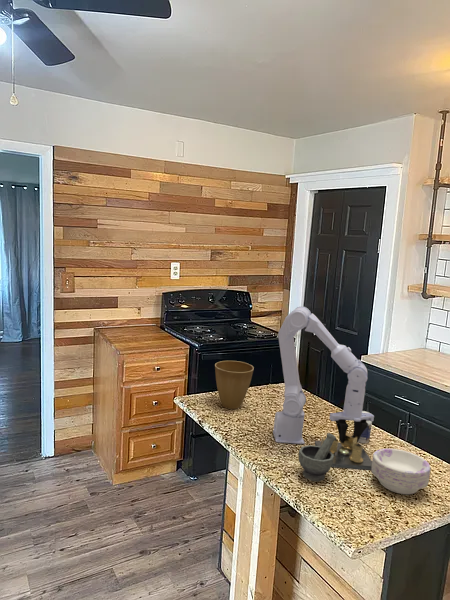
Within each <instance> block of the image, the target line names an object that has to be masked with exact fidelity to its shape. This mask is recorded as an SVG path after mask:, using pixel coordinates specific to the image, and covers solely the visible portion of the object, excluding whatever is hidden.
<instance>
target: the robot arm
mask: <svg viewBox="0 0 450 600" xmlns="http://www.w3.org/2000/svg"><path fill="white" fill-rule="evenodd" d="M304 328H305V329H304ZM303 329H304V331H305V332H308V333H312V334H314V335H315V336H317V338H318V339H319V340H320V341H322V343H323V344H324V345H325V346H326V348H328V349H329V351H330V353H331V354H330V357H331V358H332V360H333V361H334V362H335V363H336V364H337V365H338V366H339V368H340V369H341V370H342V371H343V373H345V374H347V379H348V381H347V385H346V389H345V397H344V404H343V409H342V411H338V412H331V413H329V420H330V421H331V422H335V424H336V427H337V431H338V439H339V441H340V442H341V443H344V442H345V436H346V432H348V428H349V424H348V422H347V421H353V433H352V435H355V436H357V444H359V442H358V441H359V438H360V436H361V434H362V433H363V431H364V430H365V429H366V428H367V427H368V423H367V422H366V421H372V422H374V420H375V419H374V418H375V415H374V414H372V413H370V412H369V413H362V411H363V408H364V401H365V394H366V385H367V381H368V379H369V378H368V369H367V367H366V365H365V363H363V362H362V360H361V359H358V358H357V357H356V356H355V355H354V354H353V353H352V349H351V348H350V347H349V346H348V347H347V345H344V344H340V343H338V341H337V340H336V338H334V336H333V335H332V334H331V332H329V330H328V329H327V328H326V326H325V325H324V324H323V323H322V321H321V320H320V319H319V318H318V317H317V316H316V315H315V314H314V313H311V310H309V308H307V307H306V306H303V305H302V306H301V305H300V306H297V307H296V308H295V309H293V310H292V311H290V313H288V315H287V316H285V318H284V321H283V322H282V324H281V327H280V328H279V330H278V332H277V333H278V334H277V335H278V336H277V337H278V344H279V349H280V352H279V353H280V358H281V365H282V374H283V379H284V394H283V395H284V400H283V404H282V410H281V411H276V412H275V415H274V422H273V429H272V433H273V437H274V440H275V442H276V443H283V444H284V443H285V444H295V445H296V444H297V445H300V444H301V445H305V444H306V443H305V440H304V439H303V429H304V423H305V421H304V420H305V411H304V410H303V409H304V405H306V402H307V397H306V395H305V393H304V391H303V387H302V384H301V382H300V375H299V367H298V360H297V351H296V345H295V344H296V342H295V335H296V334H297V333H299V332H300V331H302V330H303ZM339 441H338V442H339ZM340 442H339V443H340Z"/></svg>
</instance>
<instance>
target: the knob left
mask: <svg viewBox="0 0 450 600" xmlns="http://www.w3.org/2000/svg"><path fill="white" fill-rule="evenodd" d="M326 437H327V436H326ZM326 437H325V436H322V437H321V441H322V442H321V445H322V444H323V442H324V440H325V439H326ZM338 443H339V441H338V439H337V438H336V440H334V441H333V444H332V446H331V448H330V451H331V452H332V453H333V454H335V452H337V445H338Z"/></svg>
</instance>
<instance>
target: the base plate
mask: <svg viewBox="0 0 450 600" xmlns="http://www.w3.org/2000/svg"><path fill="white" fill-rule="evenodd" d="M321 442H322V440H314V446H320V447H321ZM358 444H359V445H361V443H358ZM352 451H353V450H347V449H344V448H343V447H342V444H340V442H338V445H337V452H335V454H333V455H334V460H333V463H332V466H331V468H338V469H352V470H363V471H364V470H365V471H372V470H371V467H372V459H371V458H370V456H369V455H368V453H367V452H366V450H365V448H363V450H362V456H361V457H362V458H363V462H362V463H355V462H352V461H351V460H350V459H349V458H350V456H351V455H352Z"/></svg>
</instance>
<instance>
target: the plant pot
mask: <svg viewBox="0 0 450 600" xmlns="http://www.w3.org/2000/svg"><path fill="white" fill-rule="evenodd" d="M254 368H255V367H254V366H253V365H252V364H249V363H247V362H245V361H237V360H222V361H218V362H216V363H215V364H214V370H215V371H214V373H215V381H216V382H215V383H216V387H217V388H216V389H217V393H218V398H219V401H220V405H221V406H222V407H223V408H225V409H229V410H238V409H240V408H241V406H242V404H243V402H244V401H245V398H246V395H247V393H248V390H249V388H250V384H251V381H252V378H253V374H254Z"/></svg>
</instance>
